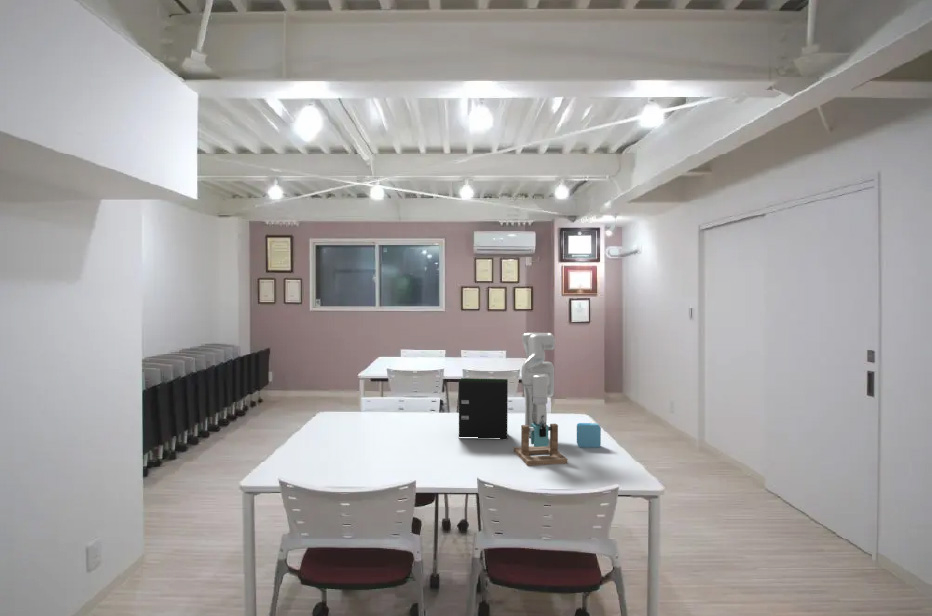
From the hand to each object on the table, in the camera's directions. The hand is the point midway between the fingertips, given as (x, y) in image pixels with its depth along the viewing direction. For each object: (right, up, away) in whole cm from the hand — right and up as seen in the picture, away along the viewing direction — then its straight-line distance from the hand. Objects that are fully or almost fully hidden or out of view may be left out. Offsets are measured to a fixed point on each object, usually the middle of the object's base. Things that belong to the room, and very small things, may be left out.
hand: (539, 434), depth 267 cm
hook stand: (0, -11, 0) cm, 11 cm away
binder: (-27, -11, +40) cm, 49 cm away
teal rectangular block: (0, -5, 0) cm, 5 cm away
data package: (+29, -11, +20) cm, 37 cm away
